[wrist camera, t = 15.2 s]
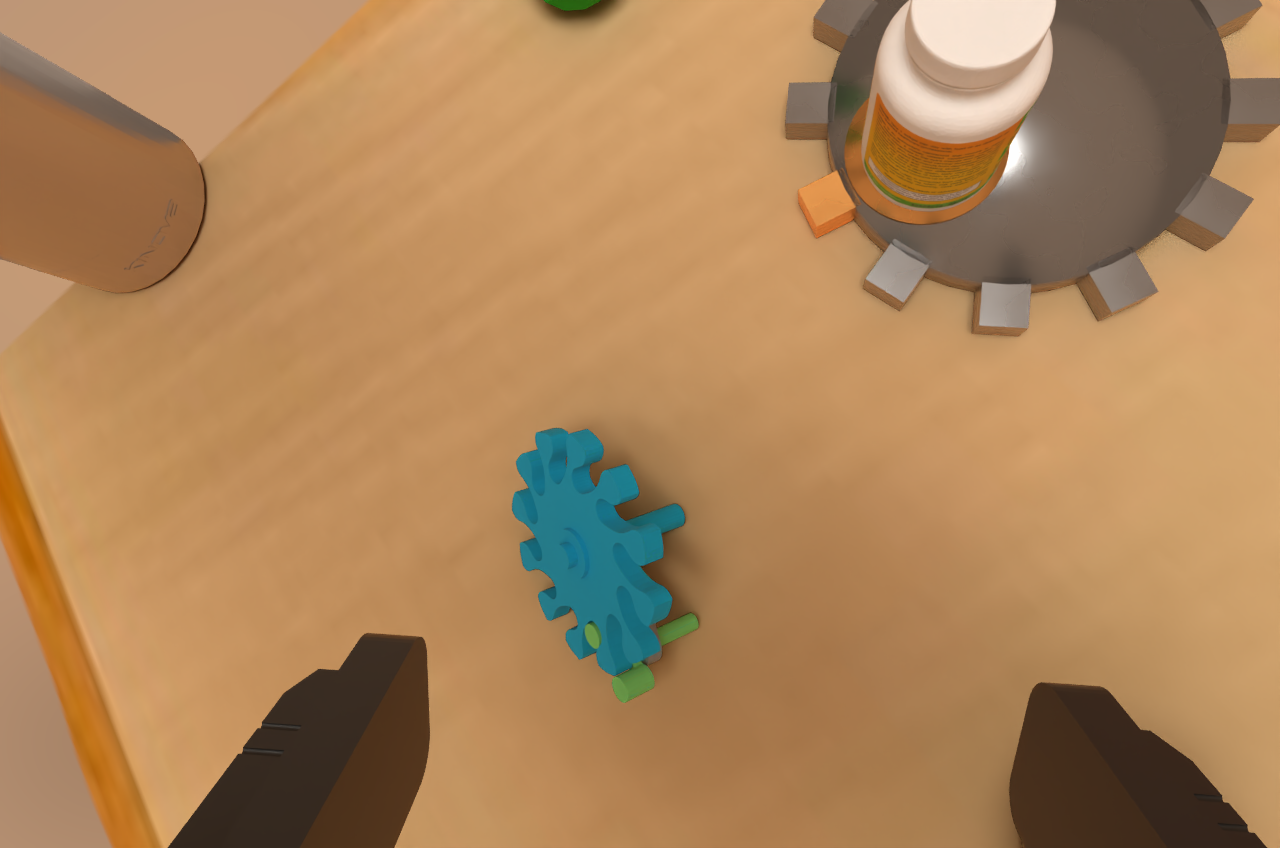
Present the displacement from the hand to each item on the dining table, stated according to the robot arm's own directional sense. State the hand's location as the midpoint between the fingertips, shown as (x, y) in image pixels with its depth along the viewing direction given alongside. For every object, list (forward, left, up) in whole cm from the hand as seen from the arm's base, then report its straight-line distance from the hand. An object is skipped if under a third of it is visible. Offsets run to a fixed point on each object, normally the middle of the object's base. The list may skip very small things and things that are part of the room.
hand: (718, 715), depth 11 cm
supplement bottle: (-5, +17, -22) cm, 29 cm away
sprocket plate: (-3, +21, -24) cm, 32 cm away
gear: (-6, -4, -24) cm, 25 cm away
